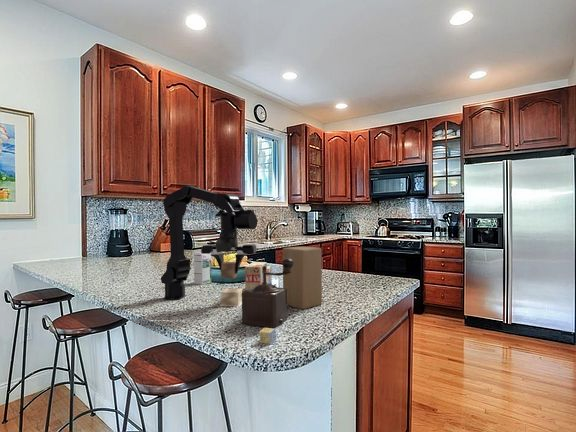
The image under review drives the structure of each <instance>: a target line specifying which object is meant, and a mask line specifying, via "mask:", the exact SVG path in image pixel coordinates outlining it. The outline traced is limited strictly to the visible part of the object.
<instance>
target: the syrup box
mask: <svg viewBox="0 0 576 432" xmlns="http://www.w3.org/2000/svg"><path fill="white" fill-rule="evenodd" d="M211 254H212V252H211V253H210V254H201V252H194V253H193V283H194V284H195V285H201V286H203V285H205V284H211V283H212V277H211V278H210V269H211V270H212V259H211V258H212V256H211Z"/></svg>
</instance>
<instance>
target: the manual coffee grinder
mask: <svg viewBox="0 0 576 432" xmlns="http://www.w3.org/2000/svg"><path fill="white" fill-rule="evenodd" d="M281 266H282V271H281V272H272V271H271V272H267V271H266V268H267V267H266V266H263V267H262V269H263V271H262V273H263V283H262V284H260V285H258V286H256V287H255V288H253V289H250V290H247V291H245V290H244V291H242V304H241V324H242V325H243V326H247V327H248V326H249V327H255V328H262V329H263V328H272V329H276V328H277V327H279V326H280V325H282V324H283V323H284V322H285V321H287V319H288V305H287V288H283V287H277V283H275V284H271V283H269V284H267V282H266V275H272V276H277V277H278V276H279V277H280V276H283V275H284V274H285V275H287V274H288V273H291V268H292V266H293V260H291V259H287V258H286V259H284V260H283V259H282V260H281ZM283 268H284V270H283Z"/></svg>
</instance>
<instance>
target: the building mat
mask: <svg viewBox="0 0 576 432" xmlns="http://www.w3.org/2000/svg"><path fill="white" fill-rule="evenodd" d="M241 306H242V302H241V303H240V304H239V305H221V304H220V305H219V307H241Z"/></svg>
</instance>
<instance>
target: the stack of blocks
mask: <svg viewBox="0 0 576 432" xmlns="http://www.w3.org/2000/svg"><path fill="white" fill-rule="evenodd" d="M267 263H268V262H265V261H259V262H258V261H253V262H251V263H249V264H247V265H245V267H244V283H245V285H244V286H245V287H244V289H245V290H244V292H245V291H247V290H250V289H253V288H255V287H256V286H258V285H260V284H262V283H263V273H262V271H263V269H262V267H263V266H266V267H267V268H266V271H267V272H272V266H271V265H268V264H267ZM272 277H273V275H266V282H267V284H269V283H271V284H272ZM272 285H273V284H272Z"/></svg>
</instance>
